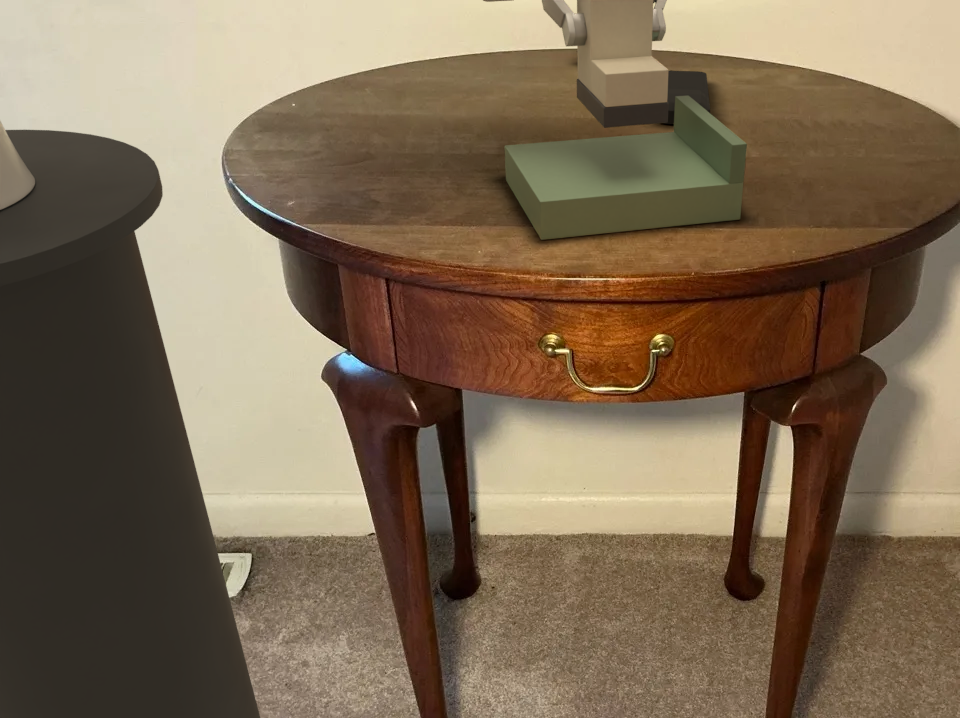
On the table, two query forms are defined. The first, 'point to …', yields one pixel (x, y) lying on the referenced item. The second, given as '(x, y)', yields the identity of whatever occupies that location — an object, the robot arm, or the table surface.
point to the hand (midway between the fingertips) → (617, 39)
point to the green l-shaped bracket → (631, 178)
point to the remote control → (687, 89)
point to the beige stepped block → (621, 64)
